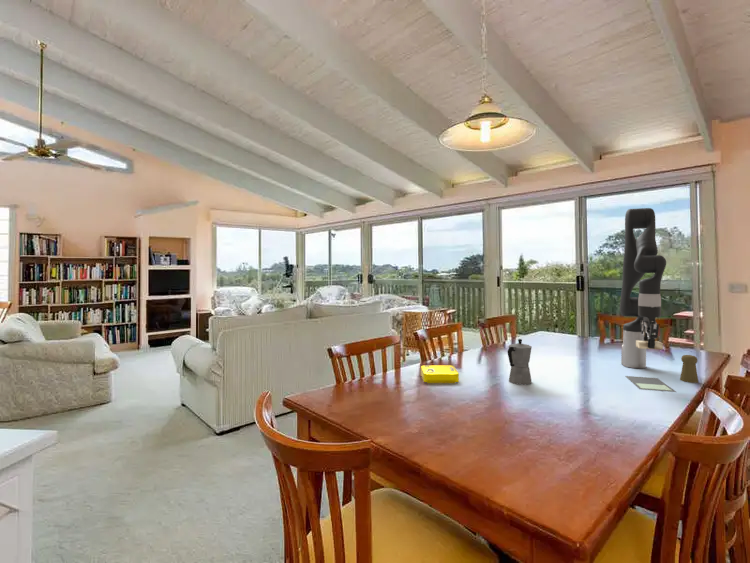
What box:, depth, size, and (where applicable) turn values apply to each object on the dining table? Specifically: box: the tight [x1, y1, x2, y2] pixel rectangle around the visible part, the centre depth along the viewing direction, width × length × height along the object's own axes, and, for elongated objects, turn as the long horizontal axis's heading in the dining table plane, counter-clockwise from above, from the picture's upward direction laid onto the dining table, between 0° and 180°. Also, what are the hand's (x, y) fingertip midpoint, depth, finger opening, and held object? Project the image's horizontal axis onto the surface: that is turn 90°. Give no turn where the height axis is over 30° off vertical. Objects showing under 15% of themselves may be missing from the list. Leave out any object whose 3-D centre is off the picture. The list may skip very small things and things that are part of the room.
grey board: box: [625, 375, 677, 393], centre depth 158 cm, size 20×12×1 cm, turn 161°
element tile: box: [420, 364, 460, 384], centre depth 170 cm, size 15×15×5 cm
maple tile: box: [636, 340, 664, 350], centre depth 158 cm, size 8×4×2 cm, turn 71°
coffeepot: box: [507, 338, 532, 385], centre depth 163 cm, size 15×9×18 cm, turn 129°
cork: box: [679, 354, 699, 384], centre depth 161 cm, size 6×6×11 cm
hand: (649, 346), depth 158 cm, fingers closed on maple tile, 4 cm apart
